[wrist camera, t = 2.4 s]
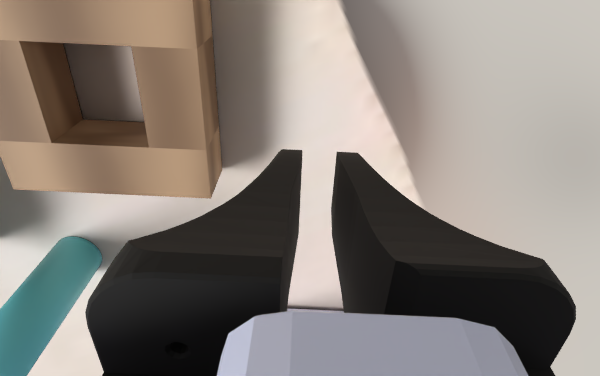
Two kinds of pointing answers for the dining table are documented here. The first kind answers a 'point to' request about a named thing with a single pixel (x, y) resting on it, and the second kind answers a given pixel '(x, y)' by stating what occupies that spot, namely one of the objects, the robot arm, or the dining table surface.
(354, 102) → the dining table surface
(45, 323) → the dowel
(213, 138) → the wooden square frame
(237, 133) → the dining table surface
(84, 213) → the dining table surface
